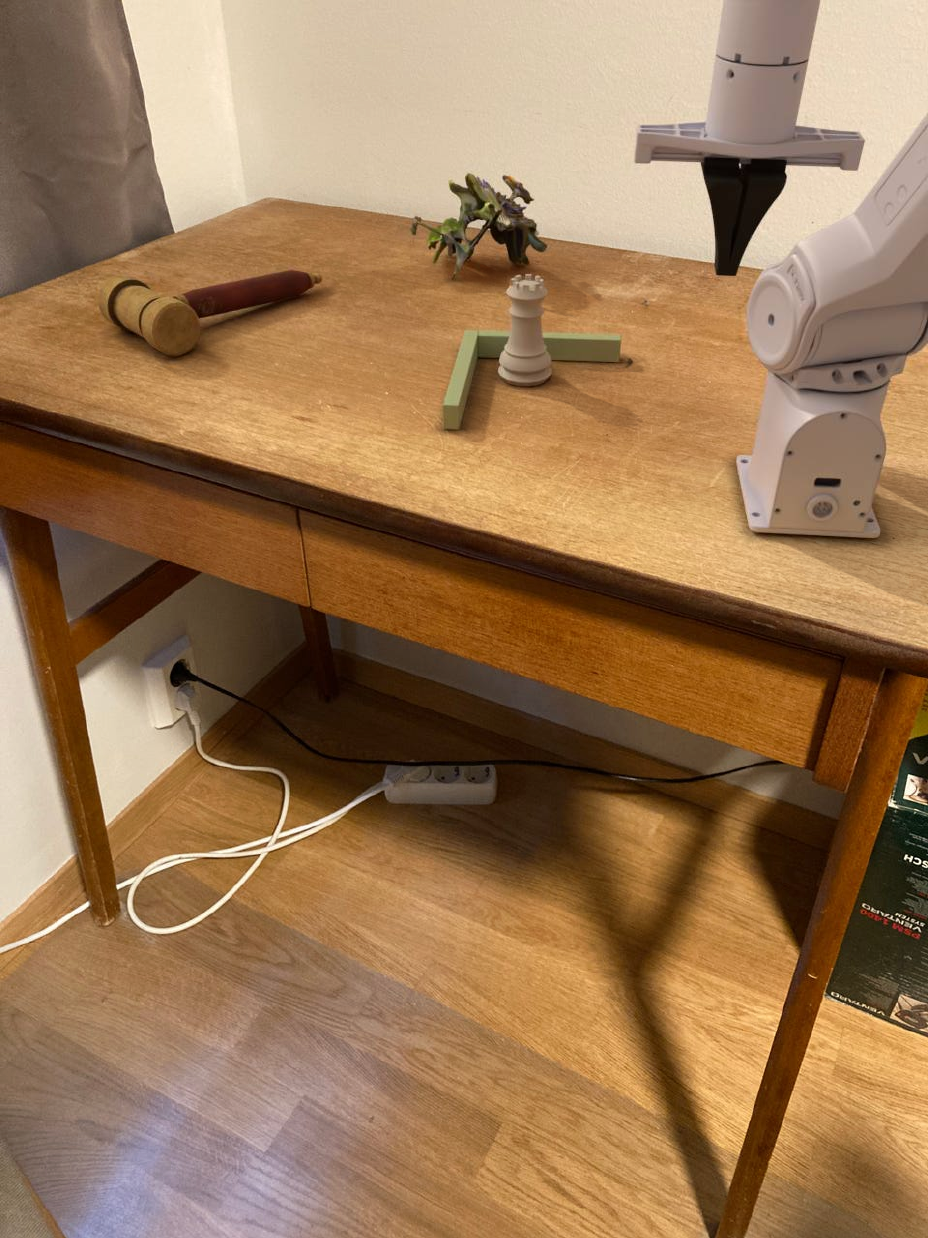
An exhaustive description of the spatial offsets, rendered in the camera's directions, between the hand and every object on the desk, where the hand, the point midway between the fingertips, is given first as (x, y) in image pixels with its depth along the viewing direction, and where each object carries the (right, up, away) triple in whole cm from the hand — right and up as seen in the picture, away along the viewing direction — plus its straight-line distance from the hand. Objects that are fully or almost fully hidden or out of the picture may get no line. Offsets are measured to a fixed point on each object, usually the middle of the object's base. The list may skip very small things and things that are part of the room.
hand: (725, 270), depth 71 cm
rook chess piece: (-14, -5, +11) cm, 18 cm away
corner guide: (-13, -7, +9) cm, 17 cm away
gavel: (-40, +3, +22) cm, 46 cm away
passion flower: (-17, +11, +31) cm, 37 cm away
